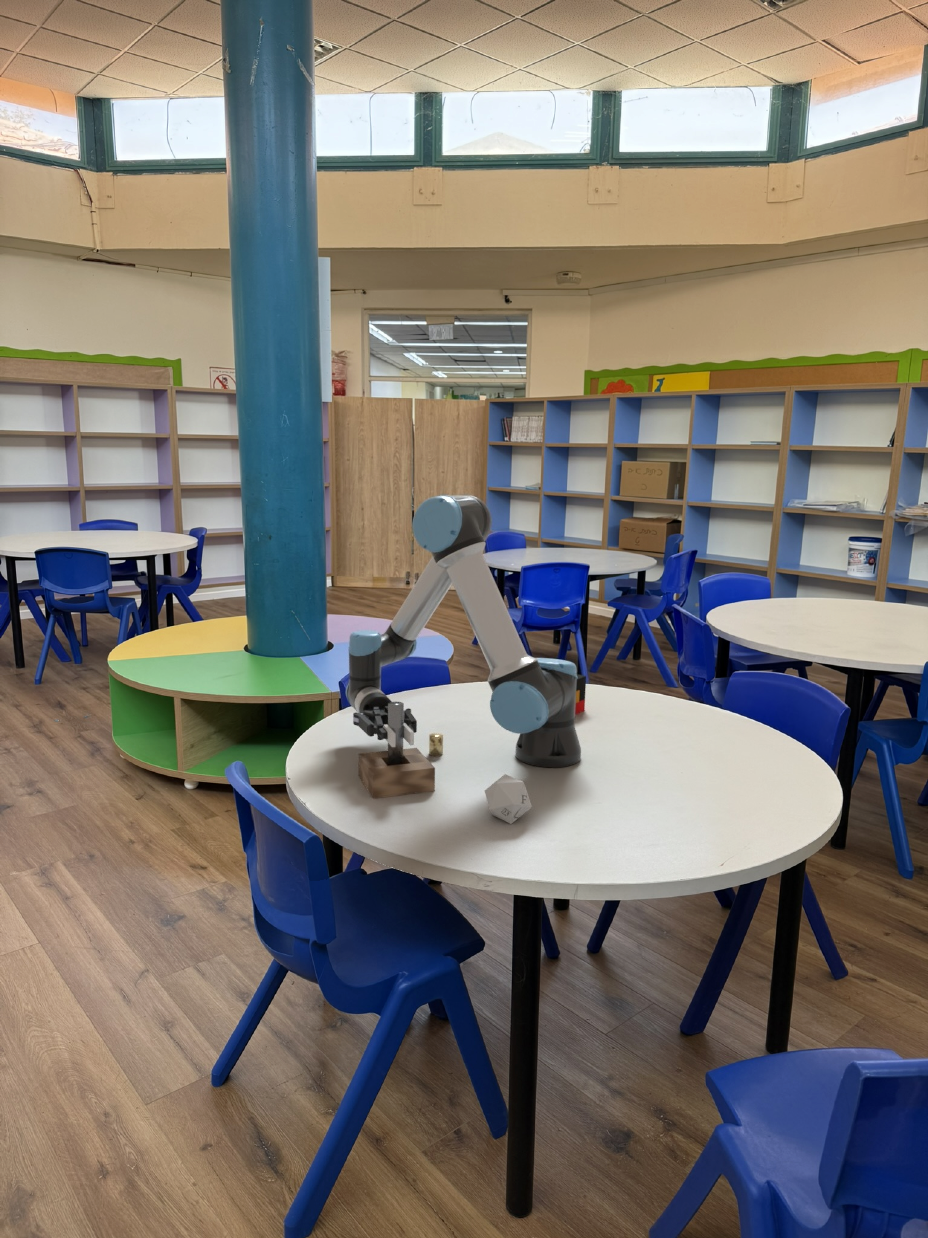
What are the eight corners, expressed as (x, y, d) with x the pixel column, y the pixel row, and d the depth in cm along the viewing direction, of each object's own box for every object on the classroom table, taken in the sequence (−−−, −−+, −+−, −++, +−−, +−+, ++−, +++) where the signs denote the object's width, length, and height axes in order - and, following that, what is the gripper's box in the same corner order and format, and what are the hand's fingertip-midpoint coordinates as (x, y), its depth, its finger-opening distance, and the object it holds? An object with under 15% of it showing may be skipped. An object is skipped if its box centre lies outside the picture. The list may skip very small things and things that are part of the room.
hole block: (416, 769, 181) (416, 747, 180) (434, 791, 169) (434, 767, 168) (358, 775, 176) (358, 753, 176) (373, 798, 164) (373, 774, 164)
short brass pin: (445, 753, 192) (445, 734, 191) (437, 757, 189) (437, 738, 188) (434, 750, 193) (434, 732, 193) (426, 754, 191) (426, 735, 190)
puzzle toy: (566, 718, 221) (567, 682, 219) (534, 711, 227) (536, 676, 225) (584, 710, 228) (586, 676, 227) (553, 704, 234) (554, 670, 233)
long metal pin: (406, 767, 173) (406, 703, 170) (396, 772, 170) (397, 706, 167) (394, 764, 174) (394, 700, 172) (384, 768, 172) (385, 704, 169)
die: (487, 831, 152) (518, 797, 149) (468, 795, 158) (498, 761, 154) (516, 835, 157) (548, 802, 154) (498, 800, 163) (527, 767, 160)
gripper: (408, 720, 191) (440, 753, 169) (339, 726, 185) (363, 761, 163) (409, 689, 189) (441, 718, 168) (339, 694, 184) (363, 725, 162)
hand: (402, 739), depth 166 cm, fingers closed on long metal pin, 3 cm apart
